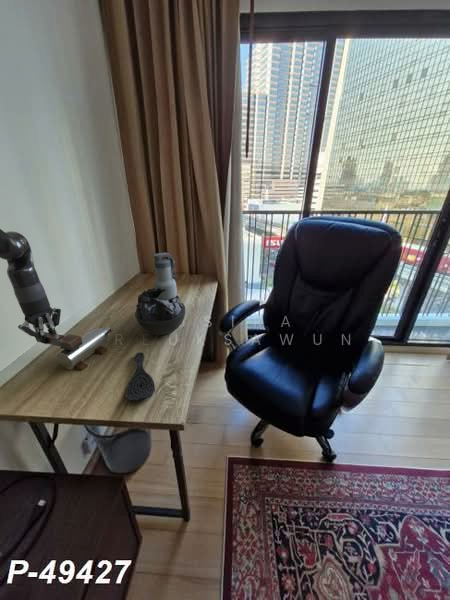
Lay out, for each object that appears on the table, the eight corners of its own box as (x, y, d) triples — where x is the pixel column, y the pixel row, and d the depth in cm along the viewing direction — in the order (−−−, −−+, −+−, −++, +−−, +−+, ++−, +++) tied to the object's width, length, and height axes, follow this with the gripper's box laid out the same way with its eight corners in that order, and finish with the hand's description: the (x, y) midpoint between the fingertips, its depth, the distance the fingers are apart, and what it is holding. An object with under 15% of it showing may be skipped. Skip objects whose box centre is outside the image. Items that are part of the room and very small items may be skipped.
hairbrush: (150, 345, 93) (154, 392, 71) (151, 353, 94) (156, 402, 72) (126, 350, 90) (123, 400, 69) (128, 358, 92) (126, 410, 70)
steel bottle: (77, 374, 84) (70, 355, 80) (60, 368, 86) (52, 350, 83) (119, 340, 100) (115, 323, 97) (103, 337, 103) (99, 320, 99)
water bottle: (174, 303, 129) (168, 249, 117) (182, 310, 122) (176, 254, 109) (155, 308, 124) (146, 253, 112) (162, 316, 117) (153, 258, 104)
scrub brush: (34, 343, 88) (30, 336, 87) (46, 336, 92) (42, 329, 90) (72, 351, 81) (69, 343, 80) (83, 343, 85) (80, 336, 84)
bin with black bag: (157, 315, 118) (150, 278, 109) (195, 322, 112) (192, 283, 103) (128, 339, 101) (119, 298, 93) (172, 349, 95) (165, 305, 86)
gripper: (44, 286, 87) (60, 328, 95) (0, 304, 75) (22, 350, 83) (60, 289, 85) (74, 332, 92) (16, 308, 73) (38, 355, 81)
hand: (49, 340), depth 88 cm, fingers closed on scrub brush, 2 cm apart
